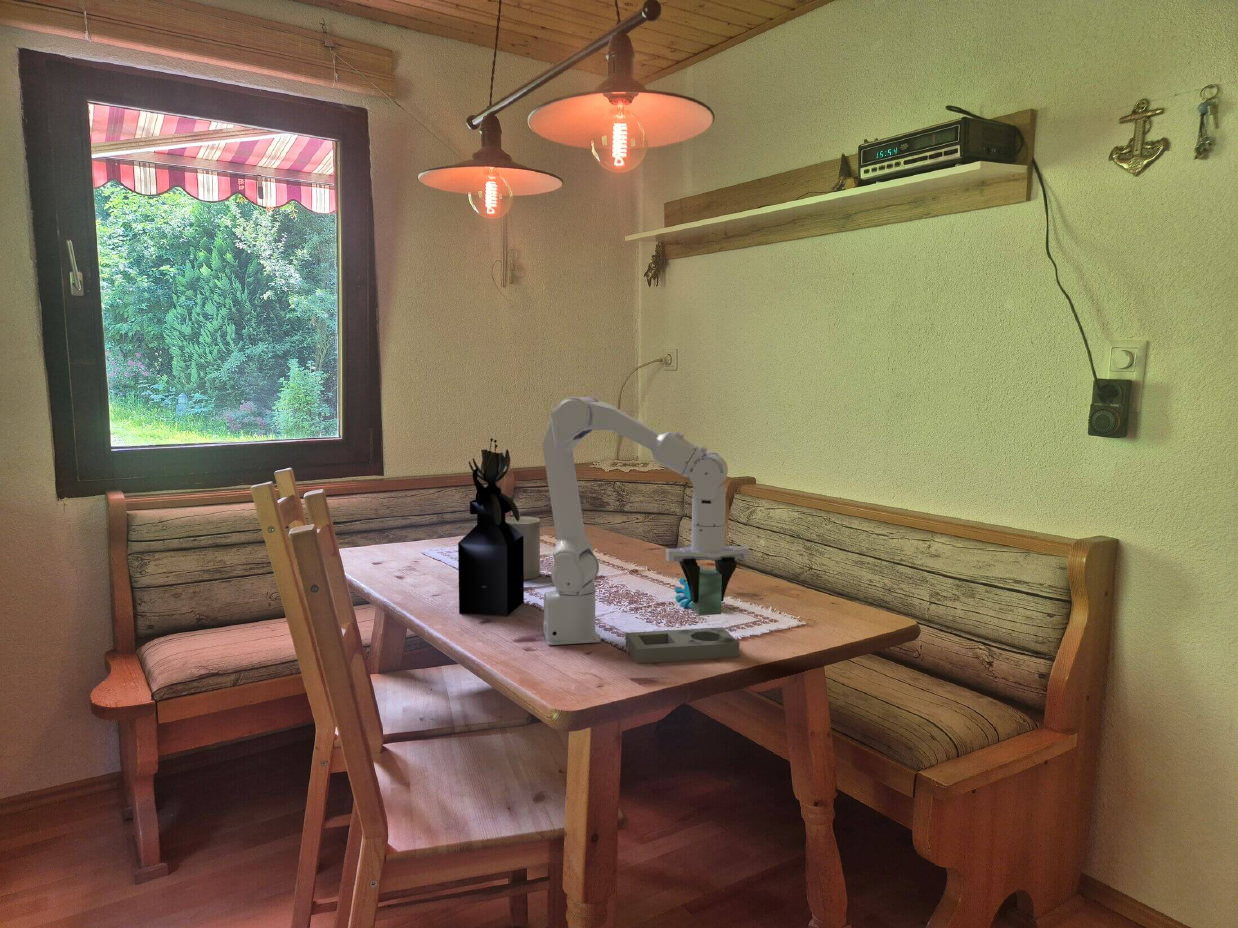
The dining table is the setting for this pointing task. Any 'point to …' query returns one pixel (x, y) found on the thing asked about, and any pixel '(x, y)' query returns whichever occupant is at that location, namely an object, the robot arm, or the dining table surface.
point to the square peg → (708, 593)
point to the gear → (685, 592)
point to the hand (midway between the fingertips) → (706, 600)
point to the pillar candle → (529, 543)
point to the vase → (491, 546)
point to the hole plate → (681, 645)
